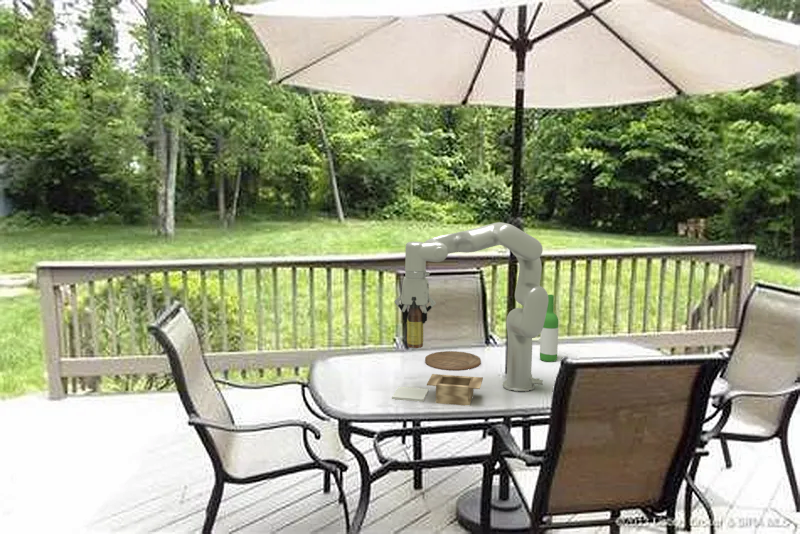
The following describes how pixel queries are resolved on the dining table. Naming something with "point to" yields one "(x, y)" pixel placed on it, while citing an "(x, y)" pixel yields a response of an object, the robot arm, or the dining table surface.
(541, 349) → the wine bottle
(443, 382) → the carton
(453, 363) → the trivet
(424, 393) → the mat
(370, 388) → the dining table surface
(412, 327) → the sauce bottle
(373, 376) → the dining table surface
